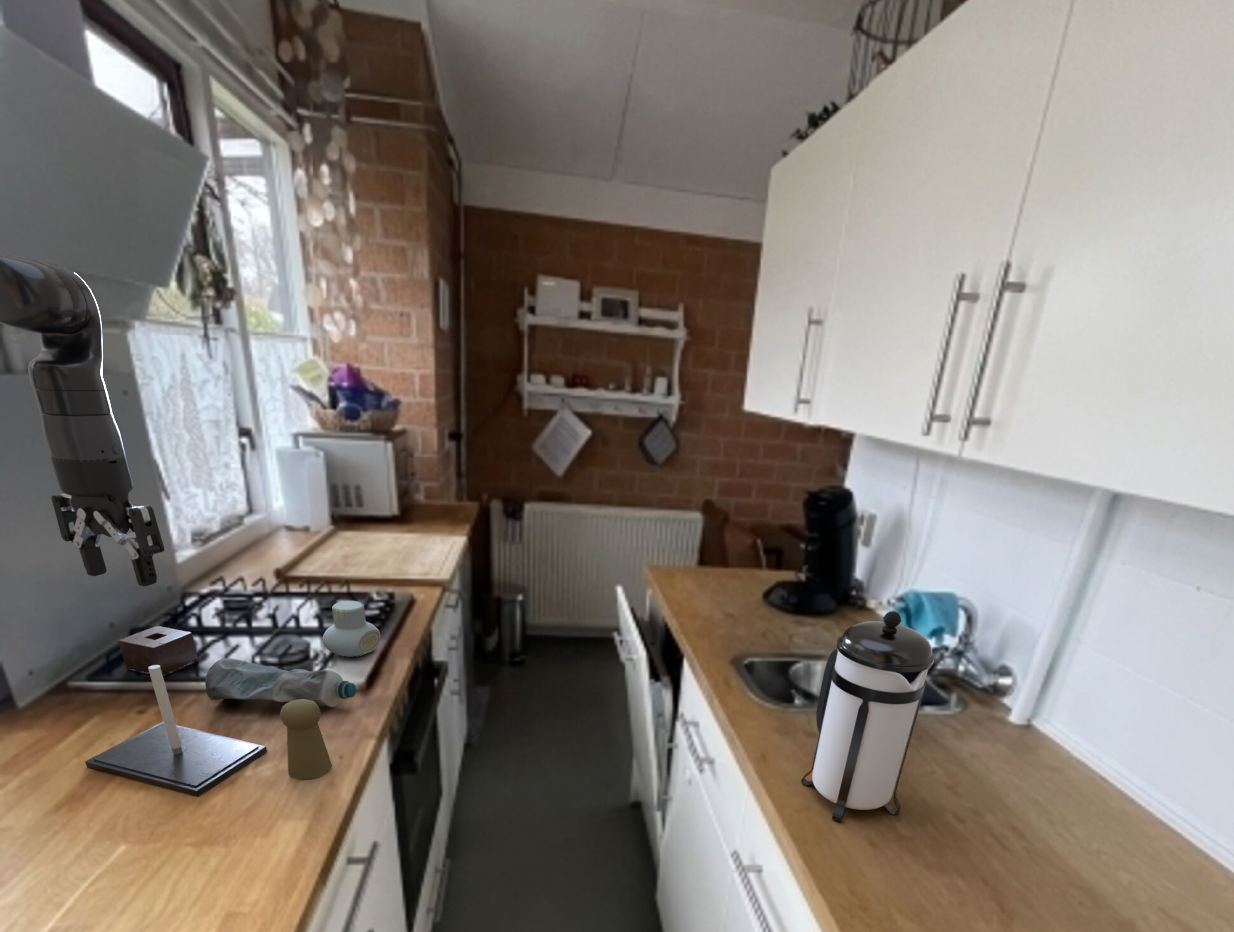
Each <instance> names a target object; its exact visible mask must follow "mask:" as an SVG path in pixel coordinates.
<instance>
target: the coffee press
mask: <svg viewBox="0 0 1234 932" xmlns="http://www.w3.org/2000/svg"><path fill="white" fill-rule="evenodd" d="M882 620H883V621H879V620H870V621H869V620H868V621H862V622H858V623H855V624H852V625H850V626H849V627H848V628H846V630H844V632H843V633H842V634H841V635H839V636H838V638H837V640H836V648H835V649H833V650H832V652H831V653H830V654H829V656H828V657H827V659H826V660H827V661H826V664H825V667H824V670H823V676H822V681H821V685H820V689H819V695H818V700H817V705H816V716H815V717H816V718H815V719H816V727H817V731H818V737H817V742H816V745H815V746H816V747H815V751H814V757H813V761H812V765H811V769H810V770H808V772H806V773H805V774H804V775H803V776H802V778H801V781H800V783H801V784H802V785H803V786H805V787H809V786H812V785H813V786H814V787H815V790H816V791H817V792H818V793H819V794H820V795H821V796H822V797H823V798H825V799H826V800H828V801H830V802H831V803H833V804H835V806H834V809H833V811H832V815H831V819H832V820H834V821H837V822H840V823H841V822H842V821H843V819H844V816H845V813H846V811H847V809H852V810H859V811H860V810H861V811H862V810H863V811H868V810H875V809H878V808H882V807H884V808H885V809H886V811H887V812H888V813H889V814H890V815H892V816H897V815H899V813H900V811H901V808H902V807H901V803H900V802H899V800H898V798H897V791H898V786H899V783H900V780H901V775H902V772H903V768H904V764H905V762H906V758H907V754H908V750H909V746H910V743H911V739H912V736H913V732H914V729H915V725H916V722H917V719H918V715H919V711H920V708H921V704H922V700H923V697H924V692H925V690H926V685H927V679H926V678H927V675H928V672H929V669H930V668H931V667H932V666H933V664H934V662H935V654H934V652H933V649H932V645H931V643H930V642H929V640H928V639H927V637H925V636H924V635H923V634H922V633H920V632H919V631H917V630H915V629H913V628H910V627H909V626H905V625H902V624H901V623H902V617H901V614H900V613H899V612H897V611H895V610H891V611H887V612H886V613H885V614H884V616H883V617H882ZM811 773H812V776H811V780H810V781H809V780H807V779H806V777H808V776H809V775H810V774H811ZM892 799H893V804H894V806H895V808H896V809H893V808H892V806H891V805H890V804H889V802H890V801H891V800H892Z"/></svg>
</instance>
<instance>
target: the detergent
mask: <svg viewBox="0 0 1234 932" xmlns="http://www.w3.org/2000/svg"><path fill="white" fill-rule="evenodd" d="M204 686H205V691H206V694H207V697H208V698H209V700H211V701H219V700H225V699H228V700H229V699H230V700H242V701H243V700H245V701H246V700H269V701H274V702H278V703H285V702H286V703H288V702H290V701H293V700H298V699H307V700H311V701H315V700H317V701H319V702H321V703H323V704H324V705H325V706H326V707H329V708H335V707H336V706H337V705H338V704H339V702H340V700H341V699H343V700H346V699H349V698H354V697H355V696H356V693H357V688H356V684H355V683H353V682H350V681H349V680H344V679H343V677H342V676H341V675H340V673H338V672H336V671H334V670H330V669H321V670H315V671H314V670H313V671H310V670H306V669H300V668H293V669H291V670H285V669H281V668H276V667H271V666H267V665H262V664H257V663H255V662H249V661H245V660H242V659H238V658H237V659H236V658H230V657H229V658H227V657H226V658H222V659H219V660H216V661H215V662H214V663H213V664H212V665H211V666H210V668H209V669H208V670H207V672H206V674H205V679H204Z"/></svg>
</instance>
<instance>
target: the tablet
mask: <svg viewBox="0 0 1234 932" xmlns="http://www.w3.org/2000/svg"><path fill="white" fill-rule="evenodd" d="M176 726H177V730H178V734H179V737H180V741H181V744H182V746H181V747H182V753H180V754H173V751H172V748H171V747H170V743H169V740H168V736H167V733H166V729H165V726H164V722H163V721H161V722H160V723H157V724H155V725H153V726H152V727H150V728H147V729H146V730H144V731H141V732H140V733H138V734H136V735H134V736H132V737H130V738H128V739H126V740H124V741H122V742H120V743H118V744H117V745H115V746H112V747H111V748H109V749H106V750H105V751H103V752H100V753H99V754H97V755H95V756H93V757H91V758H89V759H87V760H84V763H85V766H86V768H88V769H92V770H96V771H100V772H104V773H107V774H112V775H114V776H119V777H123V778H127V779H130V780H134V781H138V782H142V783H144V784H145V783H146V784H149V785H151V786H152V785H153V786H157V787H161V788H164V789H167V790H171V791H175V792H179V793H183V794H185V795H191V796H194V797H201V796H202V795H203V794H205V793H206V792H207V791H209V790H211V789H212V788H214V787H215V786H217V785H219V784H220V783H222V782H223V781H224V780H226V779H228V778H230V777H231V776H232V775H234V774H235V773H237V772H238V771H240V770H241V769H243V768H245V767H246V766H248V765H249V764H250V763H252V762H254V761H255V760H257V759H258V758H260V757H262V756H263V755H264V754H266V753H267V752H268V747H267V746H266V745H263V744H262V745H261V744H259V743H253V742H249V741H245V740H241V739H236V738H232V737H228V736H224V735H220V734H216V733H211V732H207V731H203V730H199V729H194V728H192V727H191V728H190V727H186V726H181V725H178V724H176Z"/></svg>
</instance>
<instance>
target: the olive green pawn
mask: <svg viewBox="0 0 1234 932" xmlns="http://www.w3.org/2000/svg"><path fill="white" fill-rule="evenodd" d="M279 715H280V716H279V717H280V720H281V722H282V724H283V725H284V726H285V727H286V748H287V749H286V750H287V773H288V776H289V777H291V778H293V779H295V780H302V781H304V780H305V781H306V780H307V781H308V780H313V779H317V778H320V777H323V776H324V775H326V774H327V773H329V772H330V771H331V770H332V767H333V764H332V761H331V758H330V755H329V752H328V749H327V745H326V743H325V740H324V737H323V734H322V731H321V728H320V725H319V722H320V719H321V710H320V707H319V705H318V704H317V703H316V702H315V701H314V700H307V699H298V700H293V701H290V702H286V703H285V704H284V705H282V707H281V709H280V714H279Z"/></svg>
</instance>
